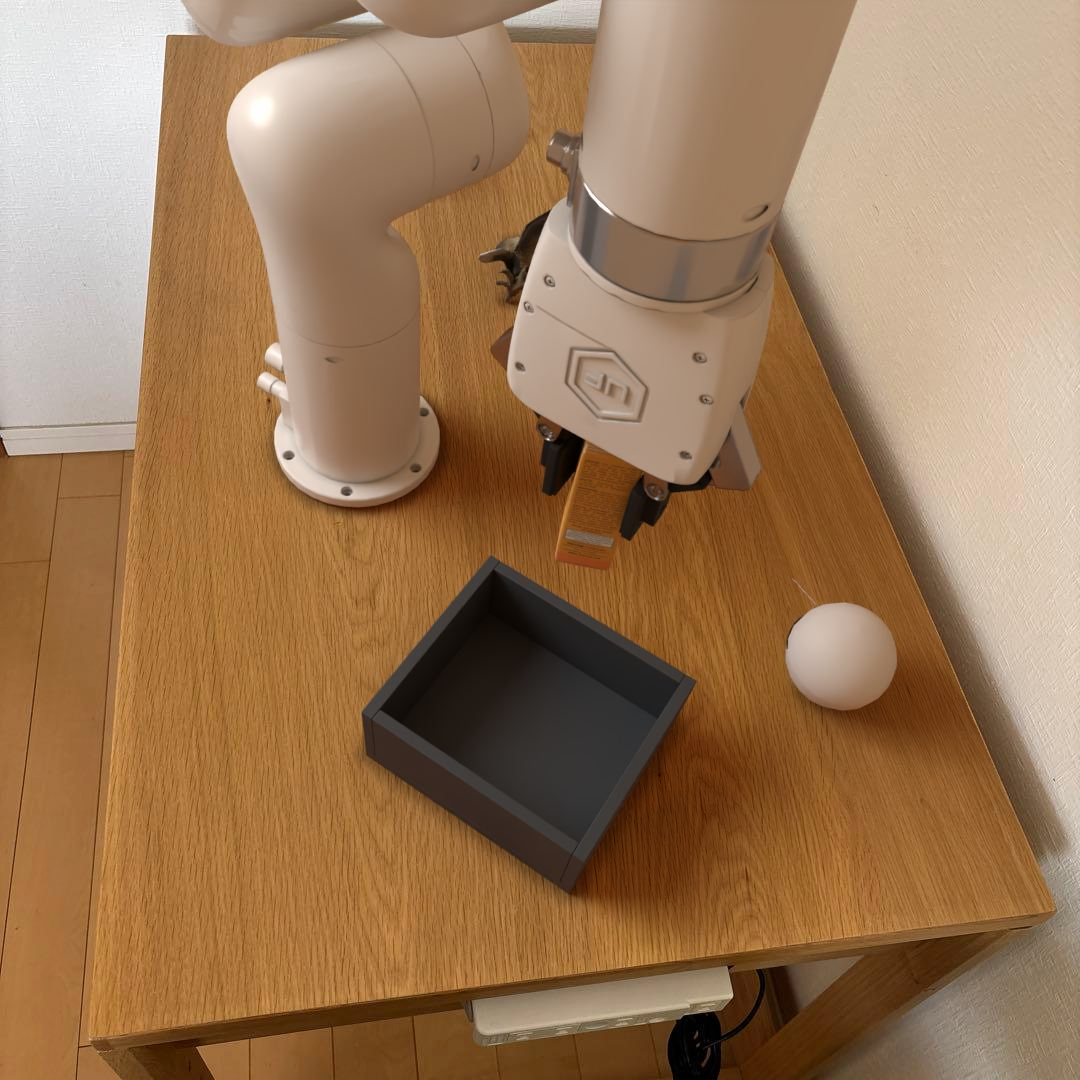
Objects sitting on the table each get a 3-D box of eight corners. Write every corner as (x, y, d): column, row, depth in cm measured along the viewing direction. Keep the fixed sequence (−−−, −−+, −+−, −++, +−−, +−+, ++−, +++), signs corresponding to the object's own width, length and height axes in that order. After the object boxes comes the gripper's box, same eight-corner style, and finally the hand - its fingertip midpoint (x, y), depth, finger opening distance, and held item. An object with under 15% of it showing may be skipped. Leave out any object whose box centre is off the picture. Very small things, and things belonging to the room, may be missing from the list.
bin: (365, 755, 66) (360, 711, 60) (484, 606, 73) (490, 554, 67) (568, 894, 63) (584, 862, 57) (673, 724, 70) (697, 680, 64)
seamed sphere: (890, 717, 72) (935, 671, 65) (793, 736, 70) (829, 691, 64) (837, 594, 77) (873, 541, 71) (745, 609, 75) (774, 556, 69)
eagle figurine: (570, 311, 88) (596, 231, 92) (529, 255, 83) (558, 172, 86) (498, 320, 93) (525, 243, 96) (455, 267, 87) (486, 188, 91)
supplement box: (614, 575, 56) (648, 464, 48) (552, 562, 56) (575, 449, 48) (622, 526, 58) (656, 411, 50) (563, 514, 58) (586, 397, 50)
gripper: (427, 171, 38) (425, 469, 53) (838, 376, 34) (709, 632, 50) (534, 79, 42) (504, 382, 57) (915, 254, 38) (773, 527, 53)
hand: (600, 496), depth 53 cm, fingers closed on supplement box, 3 cm apart
